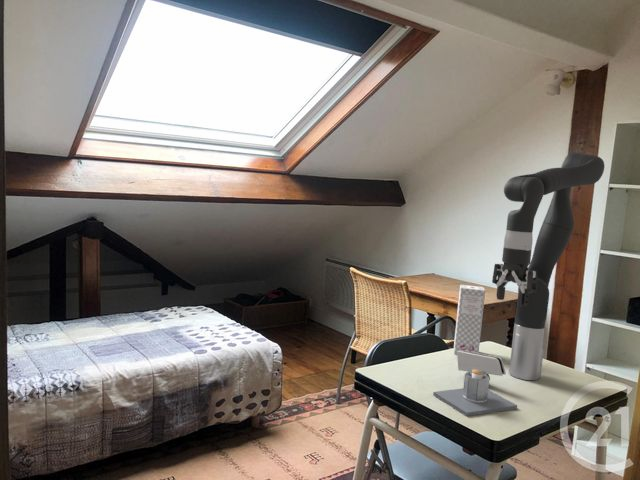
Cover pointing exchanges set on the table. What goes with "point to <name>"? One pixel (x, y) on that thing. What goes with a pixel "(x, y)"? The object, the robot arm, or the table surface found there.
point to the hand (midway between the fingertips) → (511, 302)
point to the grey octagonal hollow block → (476, 387)
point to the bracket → (480, 363)
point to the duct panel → (472, 406)
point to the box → (469, 318)
